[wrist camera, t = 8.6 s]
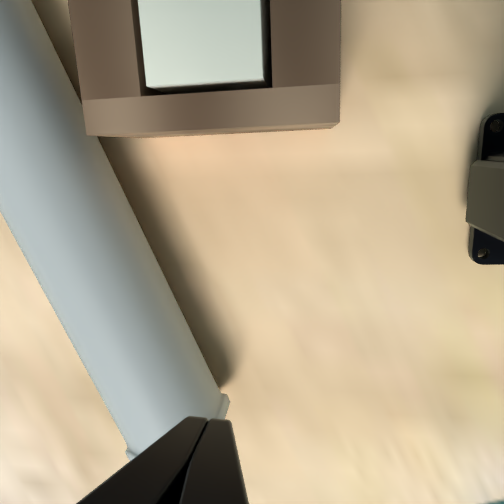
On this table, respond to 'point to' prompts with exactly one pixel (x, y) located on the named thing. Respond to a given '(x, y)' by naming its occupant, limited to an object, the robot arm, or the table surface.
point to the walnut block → (207, 103)
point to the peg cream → (206, 45)
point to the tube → (91, 245)
